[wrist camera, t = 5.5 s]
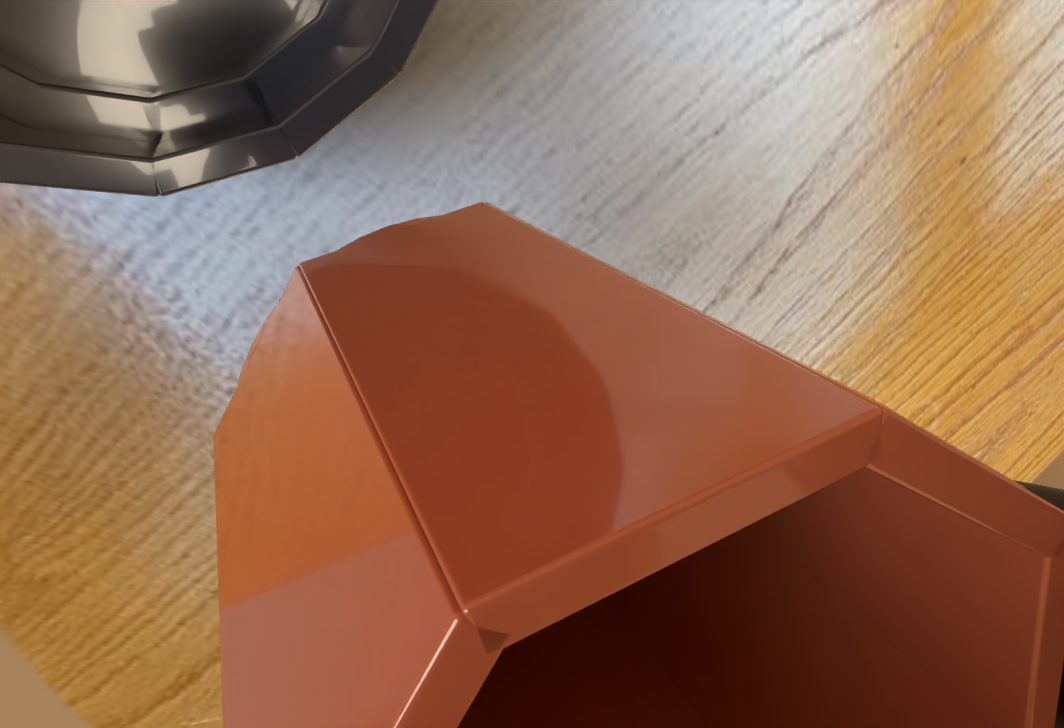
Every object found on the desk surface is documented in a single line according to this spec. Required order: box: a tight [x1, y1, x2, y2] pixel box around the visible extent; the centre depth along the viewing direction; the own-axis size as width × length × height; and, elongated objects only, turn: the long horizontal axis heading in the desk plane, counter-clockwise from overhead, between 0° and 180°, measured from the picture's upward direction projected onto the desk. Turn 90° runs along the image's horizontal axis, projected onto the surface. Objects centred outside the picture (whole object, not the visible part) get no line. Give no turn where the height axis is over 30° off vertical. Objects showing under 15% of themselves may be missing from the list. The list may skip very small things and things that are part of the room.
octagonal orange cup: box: [214, 202, 1064, 728], centre depth 9 cm, size 7×7×8 cm
